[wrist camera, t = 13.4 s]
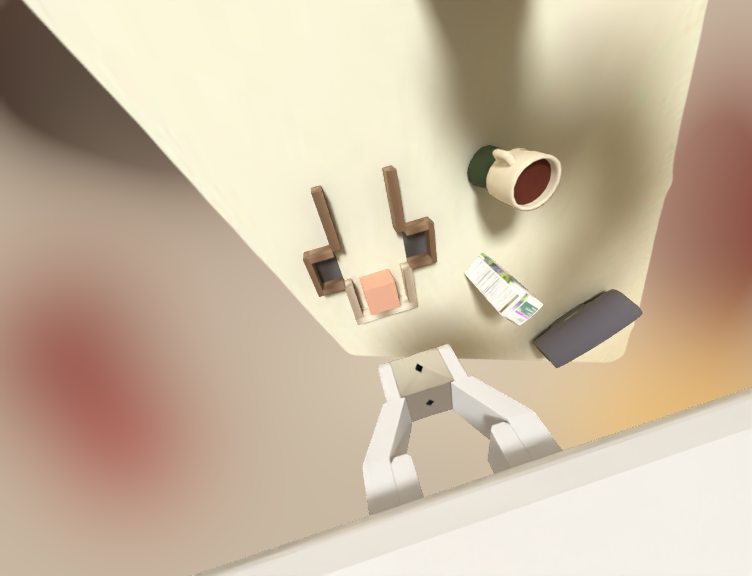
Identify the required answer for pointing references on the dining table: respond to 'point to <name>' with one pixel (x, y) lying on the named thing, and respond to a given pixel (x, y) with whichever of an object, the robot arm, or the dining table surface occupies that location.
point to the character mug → (516, 175)
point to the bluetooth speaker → (587, 327)
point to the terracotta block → (380, 291)
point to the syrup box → (502, 290)
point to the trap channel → (417, 253)
